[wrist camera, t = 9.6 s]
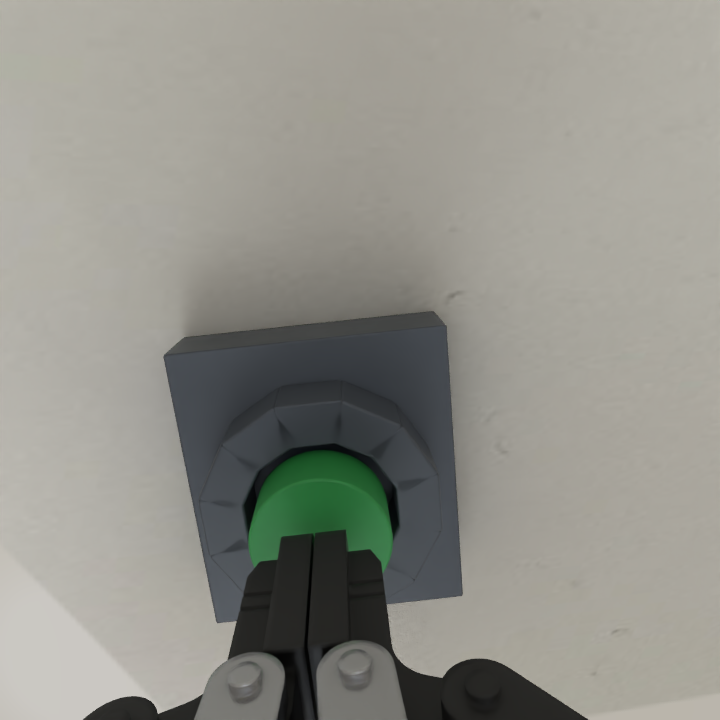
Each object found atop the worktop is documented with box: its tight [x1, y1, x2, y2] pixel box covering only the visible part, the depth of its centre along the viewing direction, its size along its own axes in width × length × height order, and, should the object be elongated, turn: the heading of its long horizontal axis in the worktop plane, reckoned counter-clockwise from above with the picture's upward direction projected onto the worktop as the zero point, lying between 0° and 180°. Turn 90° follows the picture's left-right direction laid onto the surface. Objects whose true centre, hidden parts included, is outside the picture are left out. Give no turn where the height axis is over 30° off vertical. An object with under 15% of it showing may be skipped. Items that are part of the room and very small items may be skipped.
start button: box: [248, 450, 393, 573], centre depth 15 cm, size 4×4×2 cm
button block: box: [164, 311, 463, 623], centre depth 17 cm, size 9×8×4 cm
